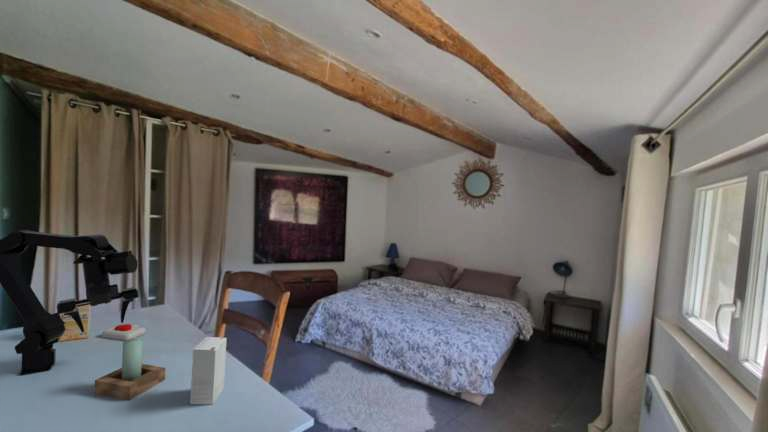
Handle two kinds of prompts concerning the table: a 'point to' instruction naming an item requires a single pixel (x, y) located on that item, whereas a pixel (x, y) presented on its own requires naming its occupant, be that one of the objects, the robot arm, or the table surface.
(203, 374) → the skincare box
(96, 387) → the square wooden frame
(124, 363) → the sage peg
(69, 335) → the supplement box
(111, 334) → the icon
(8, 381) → the table surface
